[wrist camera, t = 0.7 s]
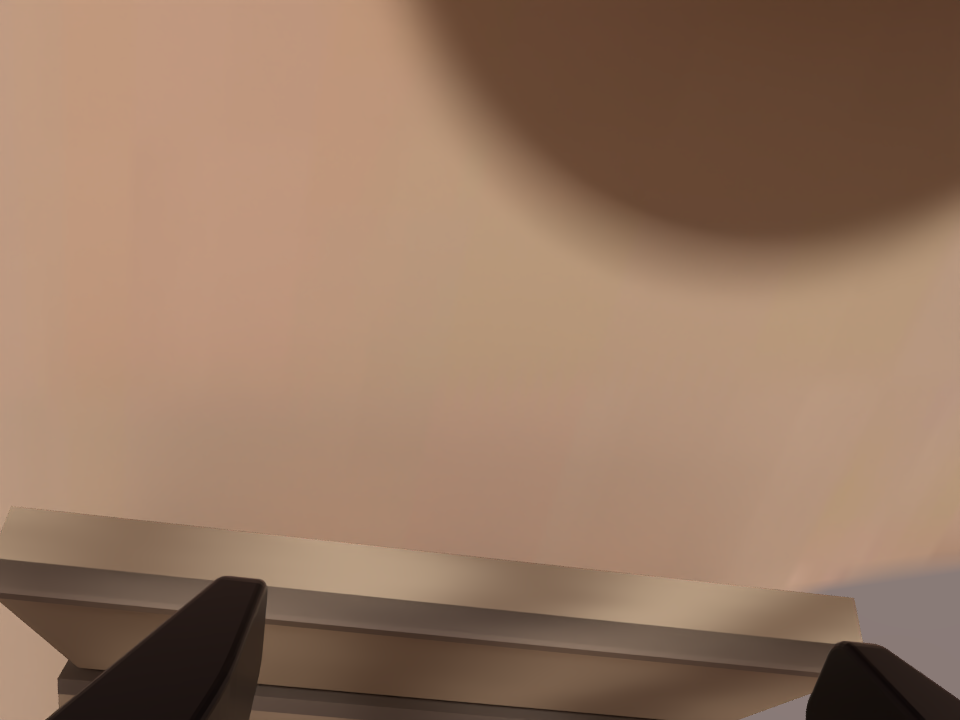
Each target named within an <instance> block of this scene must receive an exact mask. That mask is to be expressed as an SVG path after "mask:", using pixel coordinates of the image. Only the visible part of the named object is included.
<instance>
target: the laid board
mask: <svg viewBox="0 0 960 720" xmlns="http://www.w3.org/2000/svg"><path fill="white" fill-rule="evenodd" d="M104 671H105V670H98V669H87V668H78V667H77V666H76V665H74V664H73V663H72V662H71V661H70V660H68V662H67V663H66V665H65V667H64V669H63V670H62V672H61V674H60V675H59V677H58V694H59V708H60V707H61V706H63V705H64V704H65V703H66V702H68V701H69V700H70V699H71V698H72V697H74V696H75V695H76V694H77V693H78V692H80V691H81V690H82V689H83V688H85V687H86V686H87V685H88V684H89V683H91V682H92V681H93V680H94V679H95V678H97V677H98V676H99V675H100V674H102V673H103V672H104ZM249 720H661V719H650V718H639V717H627V716H616V715H605V714H594V713H582V712H571V711H560V710H549V709H537V708H526V707H515V706H504V705H492V704H481V703H470V702H458V701H447V700H436V699H425V698H413V697H402V696H391V695H380V694H368V693H357V692H346V691H335V690H323V689H312V688H301V687H290V686H278V685H267V684H257V687H256V691H255V696H254V700H253V705H252V709H251V714H250V718H249Z"/></svg>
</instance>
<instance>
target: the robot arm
mask: <svg viewBox="0 0 960 720" xmlns="http://www.w3.org/2000/svg"><path fill="white" fill-rule="evenodd" d="M267 592H268V591H267V585H266V583H265V582H264V581H263V580H261V579H255V578H246V577H237V576H222V577H219V578H217V579H216V580H214V581H213V582H212V583H211V584H210V585H208V586H207V587H206V588H205V589H203V590H202V591H201V592H200V593H199V594H197V595H196V596H195V597H194V598H193V599H191V600H190V601H189V602H188V603H186V604H185V605H184V606H183V607H182V608H180V609H179V610H178V611H177V612H176V613H174V614H173V615H172V616H171V617H169V618H168V619H167V620H166V621H165V622H163V623H162V624H161V625H160V626H159V627H157V628H156V629H155V630H154V631H152V632H151V633H150V634H149V635H148V636H146V637H145V638H144V639H143V640H142V641H140V642H139V643H138V644H137V645H135V646H134V647H133V648H132V649H131V650H129V651H128V652H127V653H126V654H125V655H123V656H122V657H121V658H120V659H119V660H117V661H116V662H115V663H114V664H112V665H111V666H110V667H109V668H108V669H106V670H105V671H104V672H103V673H102V674H100V675H99V676H98V677H97V678H95V679H94V680H93V681H92V682H91V683H89V684H88V685H87V686H86V687H85V688H83V689H82V690H81V691H80V692H78V693H77V694H76V695H75V696H74V697H72V698H71V699H70V700H69V701H68V702H66V703H65V704H64V705H63V706H61V707H60V708H59V709H58V710H57V711H55V712H54V713H53V714H52V715H51V716H49V717H48V718H47V719H46V720H249V718H250V714H251V709H252V705H253V700H254V696H255V691H256V687H257V682H258V678H259V673H260V667H261V661H262V653H263V641H264V630H265V618H266V606H267ZM806 720H960V700H959V699H958V698H956V697H955V696H953V695H952V694H951V693H949V692H948V691H946V690H945V689H943V688H942V687H941V686H939V685H938V684H936V683H935V682H933V681H932V680H931V679H929V678H928V677H926V676H925V675H923V674H922V673H921V672H919V671H918V670H916V669H915V668H913V667H912V666H910V665H909V664H908V663H906V662H905V661H903V660H902V659H900V658H899V657H898V656H896V655H895V654H893V653H892V652H891V651H889V650H888V649H886V648H884V647H883V646H880V645H877V644H870V643H862V642H852V641H841V642H838V643H836V644H835V645H834V646H833V647H832V648H831V649H830V651H829V653H828V655H827V658H826V660H825V662H824V665H823V667H822V670H821V672H820V674H819V677H818V679H817V681H816V684H815V686H814V689H813V691H812V693H811V696H810V698H809V700H808V704H807V709H806Z"/></svg>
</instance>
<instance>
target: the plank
mask: <svg viewBox="0 0 960 720" xmlns="http://www.w3.org/2000/svg"><path fill="white" fill-rule="evenodd" d="M222 576H237V577H246V578H255V579H261V580H263V581H264V582H265V583H266V585H267V591H268V592H267V606H266V618H265V630H264V641H263V653H262V661H261V667H260V673H259V678H258V682H257V684H267V685H278V686H290V687H301V688H312V689H323V690H335V691H346V692H357V693H368V694H380V695H391V696H402V697H413V698H425V699H436V700H447V701H458V702H470V703H481V704H492V705H504V706H515V707H526V708H537V709H549V710H560V711H571V712H582V713H594V714H605V715H616V716H627V717H639V718H650V719H661V720H739V719H741V718H745V717H747V716H750V715H753V714H756V713H758V712H761V711H764V710H767V709H769V708H772V707H775V706H778V705H780V704H783V703H786V702H789V701H791V700H794V699H797V698H800V697H802V696H805V695H808V694H811V693H812V691H813V689H814V686H815V684H816V681H817V679H818V677H819V674H820V672H821V670H822V667H823V665H824V662H825V660H826V658H827V655H828V653H829V651H830V649H831V648H832V647H833V646H834V645H835V644H836V643H838V642H841V641H852V642H862V643H863V641H862V636H861V631H860V626H859V621H858V616H857V611H856V606H855V601H854V598H848V597H839V596H830V595H821V594H812V593H803V592H793V591H784V590H775V589H766V588H757V587H748V586H738V585H729V584H720V583H711V582H702V581H693V580H683V579H674V578H665V577H656V576H647V575H638V574H628V573H619V572H610V571H601V570H592V569H583V568H573V567H564V566H555V565H546V564H537V563H528V562H518V561H509V560H500V559H491V558H482V557H473V556H463V555H454V554H445V553H436V552H427V551H418V550H408V549H399V548H390V547H381V546H372V545H363V544H353V543H344V542H335V541H326V540H317V539H308V538H298V537H289V536H280V535H271V534H262V533H253V532H243V531H234V530H225V529H216V528H207V527H198V526H188V525H179V524H170V523H161V522H152V521H143V520H133V519H124V518H115V517H106V516H97V515H88V514H78V513H69V512H60V511H51V510H42V509H33V508H24V507H14V506H11V508H10V510H9V513H8V515H7V518H6V521H5V523H4V526H3V528H2V531H1V533H0V602H1V603H2V604H3V605H4V606H6V607H7V608H8V609H9V610H10V611H12V612H13V613H14V614H15V615H16V616H17V617H19V618H20V619H21V620H22V621H23V622H25V623H26V624H27V625H28V626H29V627H31V628H32V629H33V630H34V631H35V632H36V633H38V634H39V635H40V636H41V637H42V638H44V639H45V640H46V641H47V642H48V643H49V644H51V645H52V646H53V647H54V648H55V649H57V650H58V651H59V652H60V653H61V654H63V655H64V656H65V657H66V658H67V659H68V660H70V661H71V662H72V663H73V664H74V665H76V666H77V667H78V668H87V669H98V670H106V669H108V668H109V667H110V666H111V665H112V664H114V663H115V662H116V661H117V660H119V659H120V658H121V657H122V656H123V655H125V654H126V653H127V652H128V651H129V650H131V649H132V648H133V647H134V646H135V645H137V644H138V643H139V642H140V641H142V640H143V639H144V638H145V637H146V636H148V635H149V634H150V633H151V632H152V631H154V630H155V629H156V628H157V627H159V626H160V625H161V624H162V623H163V622H165V621H166V620H167V619H168V618H169V617H171V616H172V615H173V614H174V613H176V612H177V611H178V610H179V609H180V608H182V607H183V606H184V605H185V604H186V603H188V602H189V601H190V600H191V599H193V598H194V597H195V596H196V595H197V594H199V593H200V592H201V591H202V590H203V589H205V588H206V587H207V586H208V585H210V584H211V583H212V582H213V581H214V580H216V579H217V578H219V577H222Z"/></svg>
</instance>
